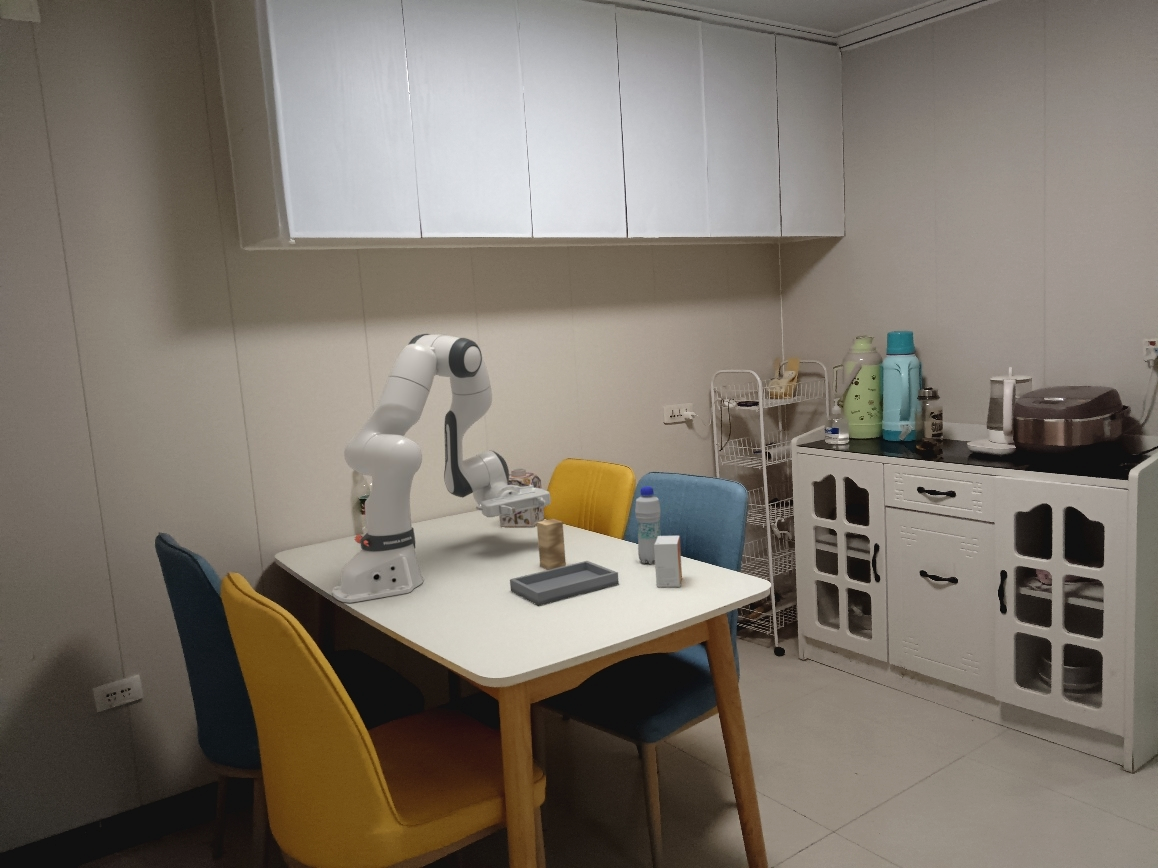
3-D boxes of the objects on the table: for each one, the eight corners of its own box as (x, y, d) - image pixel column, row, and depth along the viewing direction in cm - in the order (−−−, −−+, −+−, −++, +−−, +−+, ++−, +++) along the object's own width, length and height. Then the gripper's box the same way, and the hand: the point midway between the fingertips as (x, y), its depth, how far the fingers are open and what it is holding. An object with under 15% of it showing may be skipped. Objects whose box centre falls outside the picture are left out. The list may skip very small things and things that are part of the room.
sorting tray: (538, 605, 184) (537, 593, 183) (510, 591, 196) (509, 579, 195) (618, 584, 195) (617, 572, 195) (587, 572, 207) (587, 560, 207)
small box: (680, 587, 190) (677, 543, 188) (656, 587, 191) (653, 544, 190) (682, 577, 198) (680, 535, 196) (659, 577, 199) (657, 535, 197)
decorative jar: (512, 519, 273) (507, 466, 271) (545, 519, 270) (541, 465, 267) (499, 528, 261) (494, 473, 259) (533, 528, 258) (529, 472, 256)
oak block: (549, 570, 211) (545, 525, 209) (540, 566, 215) (536, 522, 214) (565, 566, 213) (562, 521, 212) (556, 562, 218) (553, 518, 216)
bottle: (669, 560, 212) (664, 485, 209) (650, 566, 208) (646, 490, 205) (651, 556, 217) (646, 483, 214) (632, 562, 213) (628, 487, 210)
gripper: (472, 496, 229) (493, 503, 217) (535, 483, 240) (559, 489, 228) (474, 517, 230) (495, 526, 218) (537, 504, 240) (561, 511, 229)
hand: (528, 507), depth 223 cm, fingers open, 8 cm apart
